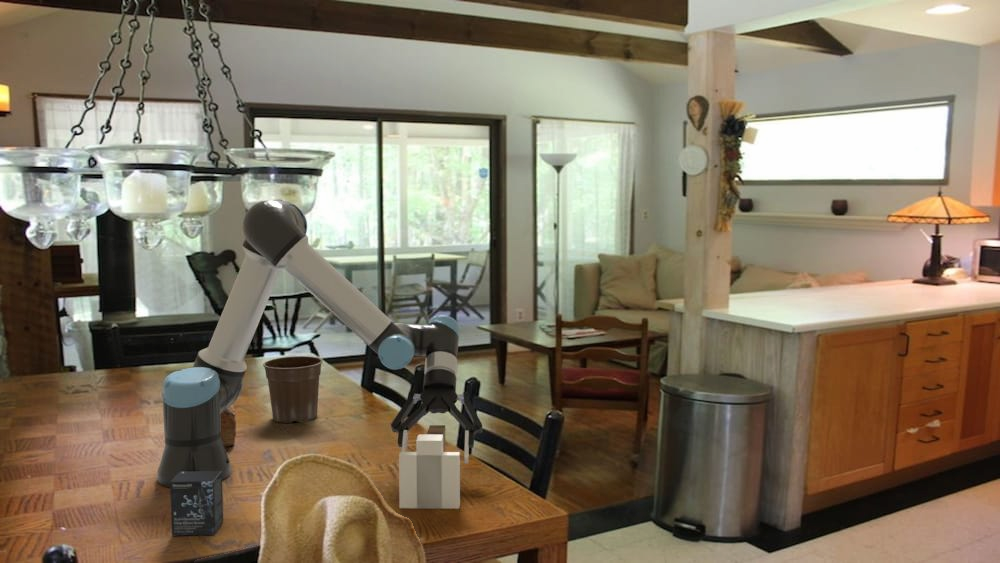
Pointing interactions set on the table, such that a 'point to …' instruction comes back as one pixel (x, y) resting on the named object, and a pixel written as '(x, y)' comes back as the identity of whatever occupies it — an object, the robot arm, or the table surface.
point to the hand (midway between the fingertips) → (434, 460)
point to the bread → (228, 426)
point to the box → (196, 503)
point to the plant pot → (293, 387)
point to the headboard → (429, 475)
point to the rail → (438, 432)
